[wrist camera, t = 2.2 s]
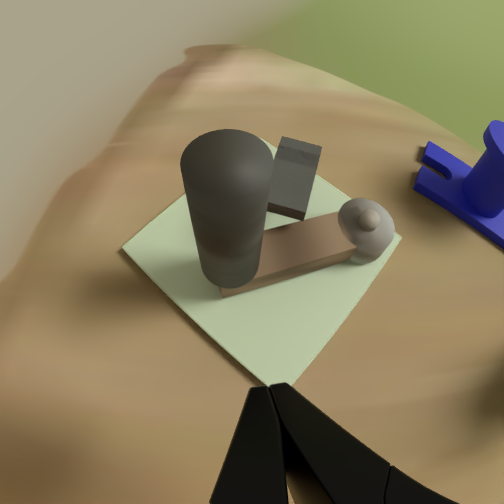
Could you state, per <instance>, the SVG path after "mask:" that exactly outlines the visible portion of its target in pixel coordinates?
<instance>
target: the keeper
mask: <svg viewBox="0 0 504 504" xmlns="http://www.w3.org/2000/svg"><path fill="white" fill-rule="evenodd" d="M321 149H322V147H321V146H317V145H314V144H310V143H306V142H303V141H299V140H295V139H291V138H287V137H283V136H282V138H281V141H280V143H279V146H278V149H277V152H276V154H275V157H274V160H273V161H274V164H273V171H272V178H271V185H270V192H269V199H268V206H267V211H268V212H271V213H275V214H279V215H282V216H286V217H289V218H293V219H297V220H300V221H304V218H305V215H306V211H307V207H308V203H309V199H310V195H311V191H312V187H313V183H314V179H315V174H316V170H317V166H318V162H319V157H320V153H321Z"/></svg>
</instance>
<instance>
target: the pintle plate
mask: <svg viewBox="0 0 504 504" xmlns="http://www.w3.org/2000/svg"><path fill="white" fill-rule="evenodd" d="M260 139H261V138H260ZM261 140H262V141H263V142H265V143H266V145H267V146H268V147H269V149H270V150H271V152H272V155H273V160H274V157H275V154H276V152H277V148H275V147H274V146H272V145H271V144H269V143H268V142H266V141H264V140H263V139H261ZM349 200H351V198H349V197H348V196H347V195H345V194H344V193H342V192H341V191H340V190H338V189H337V188H335V187H334V186H333V185H331V184H330V183H328V182H327V181H325V180H324V179H322V178H321V177H320V176H318V175H317V174H315V179H314V183H313V187H312V191H311V195H310V199H309V203H308V207H307V211H306V215H305V218H304V220H306V219H309V218H313V217H317V216H321V215H325V214H329V213H333V212H337V211H339V210H340V208H341V207H342V205H343V204H344V203H345V202H347V201H349ZM298 221H300V220H297V219H293V218H289V217H286V216H282V215H279V214H275V213H271V212H268V211H267V213H266V220H265V227H264V230H267V229H271V228H275V227H278V226H282V225H286V224H290V223H294V222H298ZM401 238H402V237H401V236H400V235H398V234H397V233H396V232H395V234H394V238H393V240H392V242H391V243H390V245H389V246H388V247H387V248H386V250H385V251H384V252H383V253H382V254H381V256H380V257H379V258H378V259H377V260H375V261H373V262H371V263H365V264H360V263H355V262H352V261H350V260H348V261H345V262H342V263H338V264H335V265H332V266H329V267H326V268H323V269H319V270H316V271H313V272H310V273H307V274H303V275H300V276H297V277H294V278H290V279H287V280H284V281H280V282H277V283H274V284H270V285H267V286H264V287H260V288H257V289H254V290H250V291H247V292H243V293H240V294H236V295H233V296H230V297H226V298H223V299H222V296H221V292H220V289H219V287H218V286H216V285H214V284H212V283H211V282H210V281H209V280H208V279H207V278H206V277H205V275H204V273H203V271H202V268H201V264H200V259H199V255H198V250H197V246H196V241H195V236H194V232H193V227H192V222H191V218H190V213H189V208H188V203H187V198H186V193H185V194H184V195H183V196H182V197H180V198H179V199H178V200H177V201H175V202H174V203H173V204H172V205H171V206H169V207H168V208H167V209H166V210H164V211H163V212H162V213H161V214H160V215H158V216H157V217H156V218H155V219H154V220H153V221H151V222H150V223H149V224H148V225H147V226H145V227H144V228H143V229H142V230H141V231H140V232H138V233H137V234H136V235H135V236H134V237H133V238H132V239H130V240H129V241H128V242H127V243H126V244H125V245H124V246H123V247H122V248H123V250H124V251H125V252H126V253H127V254H128V256H129V257H130V258H131V259H132V260H133V261H134V262H135V263H136V264H137V265H138V266H139V267H140V268H141V269H142V270H143V271H144V272H145V273H146V274H147V275H148V276H149V277H150V279H151V280H152V281H153V282H154V283H155V284H156V285H157V286H158V287H159V288H160V289H161V290H162V291H163V292H164V293H165V294H166V295H167V296H168V297H169V298H170V299H171V300H172V301H173V302H174V303H175V304H176V305H177V306H179V307H180V308H181V309H182V310H183V311H184V312H185V313H186V314H187V315H188V316H189V317H190V318H191V319H192V320H193V321H194V322H195V323H196V324H197V325H198V326H199V327H200V328H202V329H203V330H204V331H205V332H206V333H207V334H208V335H209V336H210V337H211V338H212V339H213V340H215V341H216V342H217V343H218V344H219V345H220V346H221V347H222V348H223V349H224V350H226V351H227V352H228V353H229V354H230V355H231V356H232V357H233V358H234V359H236V360H237V361H238V362H239V363H240V364H241V365H242V366H244V367H245V368H246V369H247V370H248V371H249V372H251V373H252V374H253V375H254V376H255V377H256V378H258V379H259V380H260V381H261V382H262V383H263V384H265V385H266V386H268V387H269V385H271V384H276V383H282V382H286V383H288V384H289V385H292V384H293V383H294V382H295V381H296V380H297V378H298V377H299V376H300V375H301V374H302V373H303V371H304V370H305V369H306V368H307V367H308V365H309V364H310V363H311V362H312V361H313V359H314V358H315V357H316V356H317V354H318V353H319V352H320V351H321V350H322V348H323V347H324V346H325V345H326V343H327V342H328V341H329V339H330V338H331V337H332V336H333V334H334V333H335V332H336V331H337V329H338V328H339V327H340V325H341V324H342V323H343V321H344V320H345V319H346V317H347V316H348V315H349V313H350V312H351V311H352V309H353V308H354V307H355V305H356V304H357V303H358V301H359V300H360V298H361V297H362V296H363V294H364V293H365V292H366V290H367V289H368V287H369V286H370V284H371V283H372V282H373V280H374V279H375V277H376V276H377V274H378V273H379V272H380V270H381V269H382V267H383V266H384V264H385V263H386V261H387V260H388V258H389V257H390V255H391V254H392V252H393V251H394V249H395V248H396V246H397V245H398V243H399V241H400V240H401Z"/></svg>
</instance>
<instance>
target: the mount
mask: <svg viewBox="0 0 504 504" xmlns="http://www.w3.org/2000/svg"><path fill="white" fill-rule="evenodd" d="M483 138H484V143H485V146H486V147H487V149H486V151H485V152H484V154H483V155H482V156H481V158H480V159H479V160H478V162H477V163H476V165H475V166H474V167H473V168H471V167H470V166H468V165H467V164H465V163H464V162H462V161H461V160H459V159H458V158H456V157H455V156H453V155H452V154H450V153H448V152H447V151H445V150H444V149H442V148H440V147H439V146H437V145H435V144H434V143H432V142H430V141H429V142H428V143H427V145H426V147H425V150H424V154H423V157H422V162H424V163H426V164H427V165H429V166H431V167H432V168H434V169H436V170H437V171H439V172H441V173H442V174H443V175H444V176H445V177H446V179H444V178H443V177H441V176H439V175H438V174H436V173H434V172H433V171H431V170H429V169H428V168H426V167H424V166H423V165H422V167H421V168H420V170H419V172H418V174H417V178H416V181H415V184H414V187H413V189H414V190H416V191H417V192H419V193H421V194H422V195H424V196H426V197H427V198H429V199H430V200H432V201H434V202H435V203H437V204H439V205H440V206H442V207H443V208H445V209H446V210H448V211H450V212H451V213H453V214H454V215H456V216H457V217H459V218H460V219H462V220H463V221H465V222H466V223H468V224H469V225H471V226H472V227H473V228H475V229H476V230H478V231H479V232H481V233H482V234H484V235H485V236H486V237H488V238H489V239H491V240H492V241H493V242H495V243H496V244H497V245H499V246H500V247H501V248H503V249H504V122H501V121H497V120H495V121H492V122H491V123H490V124H489V126H488V127H487V129H486V130H485V132H484V134H483Z"/></svg>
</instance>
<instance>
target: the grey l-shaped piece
mask: <svg viewBox="0 0 504 504" xmlns="http://www.w3.org/2000/svg"><path fill="white" fill-rule="evenodd" d="M273 164H274V161H273V155H272V152H271V150H270V149H269V147H268V146H267V145H266V143H265V142H263V141H262V140H261V139H260V138H258V137H257V136H255V135H253V134H250V133H248V132H245V131H240V130H234V129H223V130H216V131H212V132H208V133H205V134H203V135H201V136H199V137H198V138H196V139H195V140H193V141H192V142H191V143H190V144H189V145H188V146H187V147H186V148H185V150H184V152H183V154H182V157H181V161H180V167H181V172H182V178H183V183H184V188H185V193H186V198H187V203H188V208H189V213H190V218H191V222H192V227H193V232H194V236H195V241H196V246H197V250H198V255H199V259H200V264H201V268H202V271H203V273H204V275H205V277H206V278H207V279H208V280H209V281H210V282H211V283H212V284H214V285H216V286H218V287H219V289H220V292H221V296H222V299H223V298H226V297H230V296H233V295H236V294H240V293H243V292H247V291H250V290H254V289H257V288H260V287H264V286H267V285H270V284H274V283H277V282H280V281H284V280H287V279H290V278H294V277H297V276H300V275H303V274H307V273H310V272H313V271H316V270H319V269H323V268H326V267H329V266H332V265H335V264H338V263H342V262H345V261H348V260H350V261H352V262H355V263H360V264H365V263H371V262H373V261H375V260H377V259H378V258H379V257H380V256H381V254H382V253H383V252H384V251H385V250H386V248H387V247H388V246H389V245H390V243H391V242H392V240H393V238H394V234H395V227H394V223H393V220H392V218H391V216H390V215H389V213H388V212H387V211H386V210H385V209H384V208H383V207H382V206H381V205H379V204H378V203H376V202H374V201H372V200H369V199H364V198H355V199H351V200H349V201H347V202H345V203H344V204H343V205H342V207H341V208H340V210H339V211H337V212H333V213H329V214H325V215H321V216H317V217H313V218H309V219H306V220H304V221H298V222H294V223H290V224H286V225H282V226H278V227H275V228H271V229H267V230H264V227H265V220H266V213H267V206H268V199H269V192H270V185H271V178H272V171H273Z"/></svg>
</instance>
